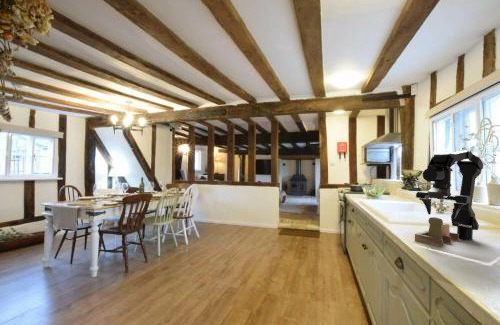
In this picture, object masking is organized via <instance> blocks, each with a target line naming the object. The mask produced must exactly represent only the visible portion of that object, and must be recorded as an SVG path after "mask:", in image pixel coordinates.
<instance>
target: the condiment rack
mask: <svg viewBox="0 0 500 325" xmlns="http://www.w3.org/2000/svg"><path fill="white" fill-rule="evenodd" d="M428 231H429V229H428V230H424V231H420V232H417V233H414V241H415V242H419V243H422V244H423V243H424V244H427V245H430V246H435V247H439V248H444V247H446V246H448V245H450V244H451V245H452V244H453V243H456V242H458V241H459V240H460V239H459V234H457V232H450V236H446V235H442V237H443V239H439V238H434V237H430V236H428Z"/></svg>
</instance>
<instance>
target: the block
mask: <svg viewBox="0 0 500 325" xmlns="http://www.w3.org/2000/svg"><path fill="white" fill-rule="evenodd" d="M441 229H442V235H446V236H450V230H451V229H450V224H448V223H444V222H443V224H442V226H441Z"/></svg>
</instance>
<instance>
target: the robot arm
mask: <svg viewBox="0 0 500 325" xmlns="http://www.w3.org/2000/svg"><path fill="white" fill-rule="evenodd" d="M455 164H456V165H457V167H458V168H459V170H458V171H459V173H460V174H461V176H462V178H461V184H460V185H461V186H460V193H459V194H458V195H452V192H451V187H452V183H451V180H452V179H451V178H452V177H451V176H452V172H453V171H454V170H453V169H452V167H453V166H454V165H455ZM427 165H428V166H427V168H426V169H424V170H423V171H422V175H421V176H422V179H423V180H425V181H426V182H433V183H432V187H431V188H429V190H428V191H423V190H422V191H417V192H416V193H415V198H417V199H418V200H420V201H421V202H422V203H423V204H424V207H425V209H426V211H427V214H428V215H431V212H432V199H437V200H446V201H447V200H449V201H454V202H453V208H452V213H451V215H450V220H451V225H452V226H453V227H456V234H459V240H463V241H473V236H474V235H473V233H474V231H479V228H480V227H479V226H480V224H479V222H478V220H477V219H476V212H474V210H473V208H472V206H473V198H474V191H475V186H476V180H477V178H478V177H479V176H480V175H481V174H482V170H483V168H484V162H483V161H482V159H481V158H480V157H479V156H477V155H475V154H473V152H472V151H471V150H458V151H455V152H449V153H448V152H446V153H441V152H440V153H434V154H433V156H431V158H430V160H429V163H428V164H427Z"/></svg>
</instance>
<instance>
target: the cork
mask: <svg viewBox="0 0 500 325" xmlns="http://www.w3.org/2000/svg"><path fill="white" fill-rule="evenodd" d="M427 220H428V222H427V223H428V224H429V227H428V230H429V231H428V230H427V231H428V236H430V237H434V238H439V239H443V237H442V229H441V226H442V224H443V223H444V222H443V219H442V218H439V217H434V216H433V217H429V218H428V219H427Z"/></svg>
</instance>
